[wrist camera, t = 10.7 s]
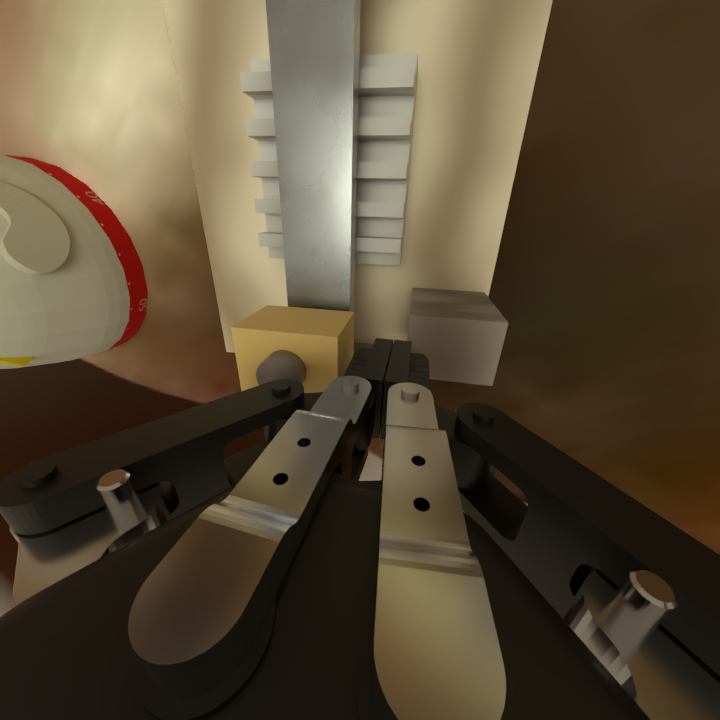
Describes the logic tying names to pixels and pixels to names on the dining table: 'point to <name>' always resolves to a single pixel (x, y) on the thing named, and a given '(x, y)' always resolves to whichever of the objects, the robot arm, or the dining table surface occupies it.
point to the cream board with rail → (373, 164)
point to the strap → (316, 145)
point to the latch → (293, 346)
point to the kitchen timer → (62, 268)
